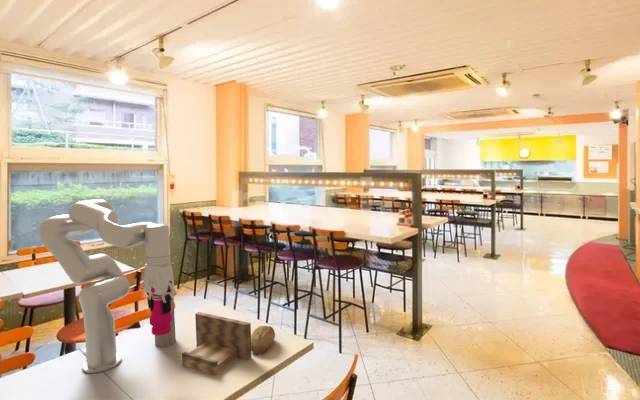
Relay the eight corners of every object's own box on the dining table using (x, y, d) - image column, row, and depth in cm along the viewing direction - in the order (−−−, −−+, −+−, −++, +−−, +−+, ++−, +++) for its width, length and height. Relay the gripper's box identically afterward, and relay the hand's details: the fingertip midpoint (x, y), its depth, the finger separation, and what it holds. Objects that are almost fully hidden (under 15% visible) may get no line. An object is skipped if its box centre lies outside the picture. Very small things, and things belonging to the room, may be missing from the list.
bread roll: (279, 338, 152) (278, 320, 151) (269, 356, 137) (268, 337, 137) (257, 337, 153) (257, 319, 153) (245, 355, 139) (245, 335, 138)
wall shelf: (172, 361, 134) (170, 326, 133) (200, 344, 147) (198, 311, 146) (226, 378, 123) (225, 339, 122) (251, 358, 136) (250, 323, 135)
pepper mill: (164, 337, 119) (161, 279, 117) (145, 335, 121) (142, 278, 119) (177, 327, 126) (175, 273, 124) (159, 325, 128) (156, 272, 126)
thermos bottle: (175, 336, 155) (172, 273, 152) (175, 344, 147) (172, 279, 145) (155, 339, 152) (152, 276, 149) (154, 348, 144) (150, 281, 142)
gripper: (131, 260, 121) (134, 311, 123) (167, 265, 114) (169, 320, 116) (150, 255, 128) (152, 303, 130) (185, 260, 121) (187, 311, 123)
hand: (160, 310), depth 123 cm, fingers closed on pepper mill, 5 cm apart
